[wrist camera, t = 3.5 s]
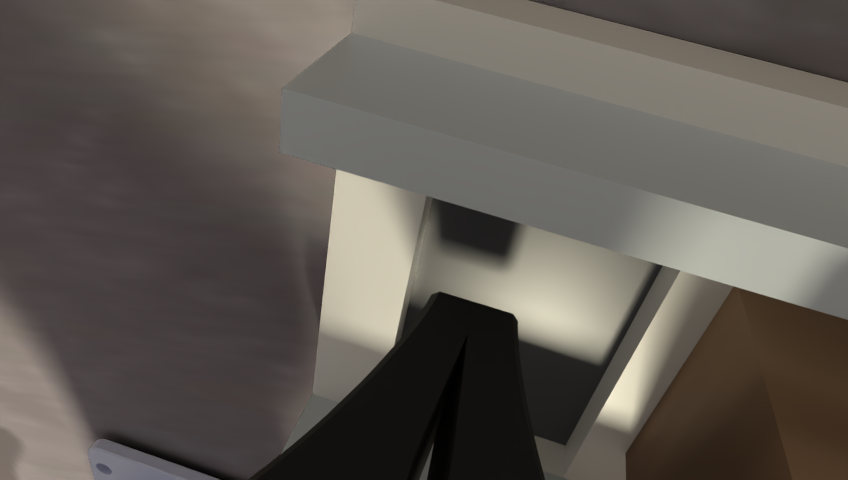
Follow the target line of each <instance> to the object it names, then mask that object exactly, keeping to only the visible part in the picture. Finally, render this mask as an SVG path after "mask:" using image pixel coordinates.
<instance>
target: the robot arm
mask: <svg viewBox="0 0 848 480" xmlns="http://www.w3.org/2000/svg"><path fill="white" fill-rule="evenodd" d="M433 444H434V445H433ZM432 446H433V450H432V455H431V460H430V466H429V471H428V476H427V480H545V477H544V473H543V469H542V466H541V462H540V458H539V454H538V450H537V446H536V442H535V438H534V433H533V428H532V424H531V419H530V414H529V410H528V405H527V400H526V394H525V389H524V383H523V376H522V369H521V362H520V353H519V342H518V321H517V319H516V317H515V316H514V314H512V313H509V312H506V311H502V310H499V309H496V308H492V307H489V306H486V305H483V304H479V303H476V302H473V301H470V300H466V299H463V298H460V297H457V296H453V295H450V294H447V293H443V292H440V291H439V292H437V293H434V294H432V295H431V296H430V298H429V300H428V302H427V303H426V305H425V307H424V308H423V309H422V311H421V312H420V314H419V315H418V317H417V318H416V319H415V321H414V322H413V323H412V325H411V326H410V327H409V329H408V330H407V331H406V332H405V333H404V335H403V336H402V337H401V338H400V340H399V341H398V342H397V343H396V344H395V346H394V347H393V348H392V349H391V350H390V351H389V352H388V353H387V354H386V356H385V357H384V358H383V359H382V360H381V361H380V362H379V363H378V364H377V365H376V366H375V368H374V369H373V370H372V371H371V372H370V373H369V374H368V375H367V376H366V377H365V378H364V379H363V380H362V381H361V382H360V383H359V384H358V385H357V386H356V387H355V388H354V389H353V390H352V391H351V392H350V393H349V394H348V395H347V396H346V397H345V398H344V399H343V400H342V401H341V402H340V403H339V404H337V405H336V406H335V407H334V408H333V409H332V410H331V411H330V412H329V413H328V414H327V415H326V416H325V417H324V418H323V419H322V420H320V421H319V422H318V423H317V424H316V425H315V426H314V427H312V428H311V429H310V430H309V431H308V432H307V433H306V434H304V435H303V436H302V437H301V438H300V439H299V440H297V441H296V442H295V443H294V444H293V445H291V446H290V447H289V448H288V449H287V450H285V451H284V452H283V453H282V454H280V455H279V456H278V457H277V458H275V459H274V460H273V461H272V462H270V463H269V464H268V465H267V466H265V467H264V468H263V469H261V470H260V471H259V472H257V473H256V474H255V475H253V476H252V477H251V478H249V479H248V480H419V479H420V477H421V474H422V472H423V469H424V466H425V464H426V461H427V459H428V456H429V454H430V451H431V449H432ZM88 456H89V460H90V463H91V467H92V471H93V475H94V479H95V480H220V479H217V478H215V477H212V476H209V475H206V474H203V473H201V472H198V471H195V470H192V469H189V468H186V467H184V466H181V465H178V464H175V463H172V462H169V461H167V460H164V459H161V458H158V457H155V456H152V455H150V454H147V453H144V452H141V451H138V450H135V449H133V448H130V447H127V446H124V445H121V444H119V443H116V442H113V441H110V440H106V439H97V440H96V441H95V442H94V443H93V444H92V446H91V447H90V448H89V449H88Z"/></svg>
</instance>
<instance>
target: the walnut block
mask: <svg viewBox="0 0 848 480" xmlns="http://www.w3.org/2000/svg"><path fill="white" fill-rule="evenodd" d="M625 456H626V480H848V320H847V319H843V318H840V317H836V316H833V315H830V314H826V313H823V312H819V311H816V310H813V309H809V308H806V307H802V306H799V305H796V304H792V303H789V302H785V301H782V300H779V299H775V298H772V297H768V296H765V295H762V294H758V293H755V292H751V291H748V290H745V289H741V288H738V287H733V288H732V290H731V292H730V293H729V295H728V296H727V298H726V299H725V301H724V302H723V304H722V305H721V307H720V308H719V310H718V312H717V313H716V315H715V316H714V318H713V319H712V321H711V322H710V324H709V325H708V327H707V329H706V330H705V332H704V333H703V335H702V336H701V338H700V339H699V341H698V342H697V344H696V345H695V347H694V349H693V350H692V352H691V353H690V355H689V356H688V358H687V359H686V361H685V362H684V364H683V366H682V367H681V369H680V370H679V372H678V373H677V375H676V376H675V378H674V379H673V381H672V382H671V384H670V386H669V387H668V389H667V390H666V392H665V393H664V395H663V396H662V398H661V399H660V401H659V403H658V404H657V406H656V407H655V409H654V410H653V412H652V413H651V415H650V416H649V418H648V419H647V421H646V423H645V424H644V426H643V427H642V429H641V430H640V432H639V433H638V435H637V436H636V438H635V440H634V441H633V443H632V444H631V446H630V447H629V449H628V450H627V452H626V453H625Z"/></svg>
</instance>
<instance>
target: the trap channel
mask: <svg viewBox="0 0 848 480" xmlns="http://www.w3.org/2000/svg"><path fill="white" fill-rule="evenodd" d="M279 153H283V154H286V155H290V156H293V157H296V158H300V159H303V160H306V161H310V162H313V163H317V164H320V165H323V166H327V167H330V168H334V169H337V170H336V180H335V189H334V198H333V207H332V216H331V226H330V235H329V244H328V253H327V263H326V272H325V281H324V290H323V300H322V309H321V318H320V327H319V337H318V346H317V355H316V364H315V374H314V383H313V392H312V395H311V397H310V399H309V401H308V403H307V405H306V407H305V409H304V411H303V413H302V414H301V416H300V418H299V420H298V422H297V424H296V426H295V428H294V430H293V432H292V434H291V435H290V437H289V439H288V441H287V443H286V445H285V447H284V449H283V451H282V453H283V452H284V451H285V450H287V449H288V448H289V447H290V446H291V445H293V444H294V443H295V442H296V441H297V440H299V439H300V438H301V437H302V436H303V435H304V434H306V433H307V432H308V431H309V430H310V429H311V428H312V427H314V426H315V425H316V424H317V423H318V422H319V421H320V420H322V419H323V418H324V417H325V416H326V415H327V414H328V413H329V412H330V411H331V410H332V409H333V408H334V407H335V406H336V405H337V404H339V403H340V402H341V401H342V400H343V399H344V398H345V397H346V396H347V395H348V394H349V393H350V392H351V391H352V390H353V389H354V388H355V387H356V386H357V385H358V384H359V383H360V382H361V381H362V380H363V379H364V378H365V377H366V376H367V375H368V374H369V373H370V372H371V371H372V370H373V369H374V368H375V366H376V365H377V364H378V363H379V362H380V361H381V360H382V359H383V358H384V357H385V356H386V354H387V353H388V352H389V351H390V350H391V349H392V348H393V347H394V346H395V344H396V343H397V342H398V341H399V340H400V338H401V337H402V336H403V335H404V333H405V332H406V331H407V330H408V329H409V327H410V326H411V325H412V323H413V322H414V321H415V319H416V318H417V317H418V315H419V314H420V312H421V311H422V309H423V308H424V307H425V305H426V303H427V302H428V300H429V298H430V296H431V295H432V294H434V293H437V292H439V291H440V292H443V293H447V294H450V295H453V296H457V297H460V298H463V299H466V300H470V301H473V302H476V303H479V304H483V305H486V306H489V307H492V308H496V309H499V310H502V311H506V312H509V313H512V314H514V316H515V317H516V319H517V321H518V342H519V353H520V362H521V369H522V376H523V383H524V389H525V394H526V400H527V405H528V410H529V414H530V419H531V424H532V428H533V433H534V438H535V442H536V446H537V450H538V454H539V458H540V462H541V466H542V469H543V473H544V477H545V480H626V456H625V453H626V452H627V450H628V449H629V447H630V446H631V444H632V443H633V441H634V440H635V438H636V436H637V435H638V433H639V432H640V430H641V429H642V427H643V426H644V424H645V423H646V421H647V419H648V418H649V416H650V415H651V413H652V412H653V410H654V409H655V407H656V406H657V404H658V403H659V401H660V399H661V398H662V396H663V395H664V393H665V392H666V390H667V389H668V387H669V386H670V384H671V382H672V381H673V379H674V378H675V376H676V375H677V373H678V372H679V370H680V369H681V367H682V366H683V364H684V362H685V361H686V359H687V358H688V356H689V355H690V353H691V352H692V350H693V349H694V347H695V345H696V344H697V342H698V341H699V339H700V338H701V336H702V335H703V333H704V332H705V330H706V329H707V327H708V325H709V324H710V322H711V321H712V319H713V318H714V316H715V315H716V313H717V312H718V310H719V308H720V307H721V305H722V304H723V302H724V301H725V299H726V298H727V296H728V295H729V293H730V292H731V290H732V288H733V287H738V288H741V289H745V290H748V291H751V292H755V293H758V294H762V295H765V296H768V297H772V298H775V299H779V300H782V301H785V302H789V303H792V304H796V305H799V306H802V307H806V308H809V309H813V310H816V311H819V312H823V313H826V314H830V315H833V316H836V317H840V318H843V319H847V320H848V83H847V82H843V81H839V80H836V79H832V78H828V77H824V76H820V75H816V74H812V73H808V72H804V71H801V70H797V69H793V68H789V67H785V66H781V65H777V64H773V63H770V62H766V61H762V60H758V59H754V58H750V57H746V56H742V55H738V54H735V53H731V52H727V51H723V50H719V49H715V48H711V47H707V46H704V45H700V44H696V43H692V42H688V41H684V40H680V39H676V38H672V37H669V36H665V35H661V34H657V33H653V32H649V31H645V30H641V29H638V28H634V27H630V26H626V25H622V24H618V23H614V22H610V21H606V20H603V19H599V18H595V17H591V16H587V15H583V14H579V13H575V12H572V11H568V10H564V9H560V8H556V7H552V6H548V5H544V4H540V3H537V2H533V1H529V0H355V4H354V13H353V22H352V32H351V34H349V35H348V36H347V37H346V38H344V39H343V40H342V41H341V42H339V43H338V44H337V45H335V46H334V47H333V48H332V49H330V50H329V51H328V52H327V53H325V54H324V55H323V56H322V57H320V58H319V59H318V60H317V61H315V62H314V63H313V64H312V65H310V66H309V67H308V68H307V69H305V70H304V71H303V72H302V73H300V74H299V75H298V76H297V77H295V78H294V79H293V80H292V81H290V82H289V83H288V84H286V85H285V86H284V87H283V88H282V100H281V124H280V147H279ZM433 445H434V444H433ZM432 450H433V446H432V449H431V451H430V454H429V456H428V459H427V461H426V464H425V466H424V469H423V472H422V474H421V477H420V479H419V480H427V476H428V471H429V466H430V460H431V455H432ZM282 453H281V454H282Z"/></svg>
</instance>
